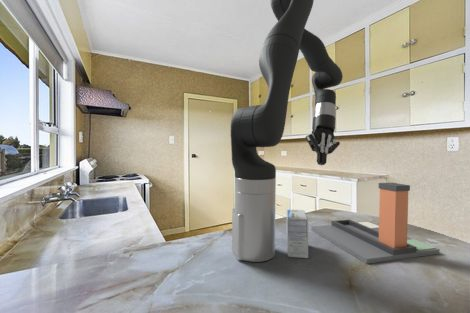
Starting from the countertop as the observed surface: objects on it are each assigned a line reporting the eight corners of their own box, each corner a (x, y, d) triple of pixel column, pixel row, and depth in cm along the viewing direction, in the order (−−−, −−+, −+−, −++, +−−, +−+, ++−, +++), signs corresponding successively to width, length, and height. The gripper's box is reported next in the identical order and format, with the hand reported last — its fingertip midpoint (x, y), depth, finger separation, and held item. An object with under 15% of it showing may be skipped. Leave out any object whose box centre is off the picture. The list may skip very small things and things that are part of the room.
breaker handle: (394, 251, 48) (396, 185, 48) (377, 243, 53) (378, 182, 52) (408, 250, 49) (410, 185, 49) (390, 242, 54) (391, 182, 53)
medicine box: (308, 259, 48) (309, 219, 47) (287, 257, 48) (287, 218, 48) (304, 244, 55) (304, 209, 55) (286, 242, 56) (286, 208, 56)
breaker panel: (366, 263, 46) (366, 253, 46) (311, 229, 65) (311, 222, 65) (439, 253, 50) (439, 244, 50) (367, 224, 70) (367, 217, 70)
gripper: (332, 126, 85) (330, 170, 80) (302, 117, 81) (298, 162, 77) (347, 119, 78) (345, 166, 73) (314, 109, 74) (311, 158, 70)
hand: (321, 164), depth 75 cm, fingers closed
